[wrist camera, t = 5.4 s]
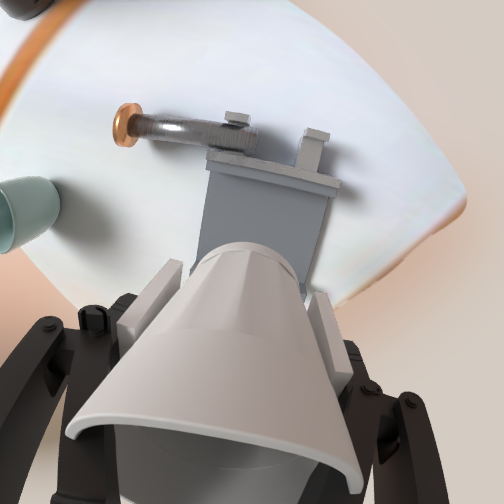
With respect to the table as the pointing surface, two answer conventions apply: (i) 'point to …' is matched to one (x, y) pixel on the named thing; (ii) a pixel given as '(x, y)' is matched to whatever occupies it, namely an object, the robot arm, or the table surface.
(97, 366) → the robot arm
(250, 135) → the lock pin
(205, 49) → the table surface
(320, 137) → the lug rail
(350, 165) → the table surface
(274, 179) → the dock
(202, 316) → the cup
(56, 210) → the cup
